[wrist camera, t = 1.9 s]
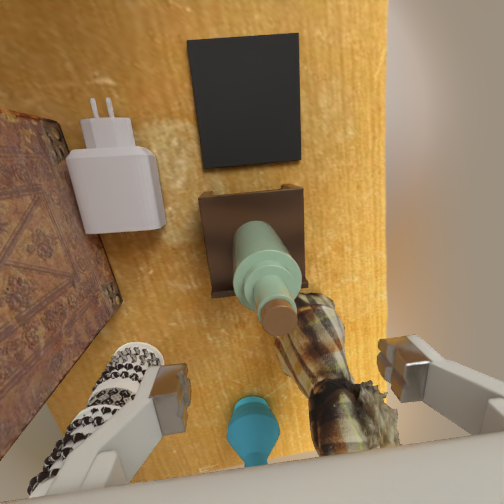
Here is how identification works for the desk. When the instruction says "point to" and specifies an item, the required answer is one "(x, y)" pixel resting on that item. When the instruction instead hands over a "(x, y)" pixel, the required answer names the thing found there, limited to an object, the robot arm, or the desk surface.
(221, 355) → the desk surface
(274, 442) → the perfume bottle
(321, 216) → the desk surface
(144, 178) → the charger
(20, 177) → the book
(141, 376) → the decorative candle
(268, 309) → the bottle
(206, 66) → the mat
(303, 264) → the shelf
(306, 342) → the plush toy
